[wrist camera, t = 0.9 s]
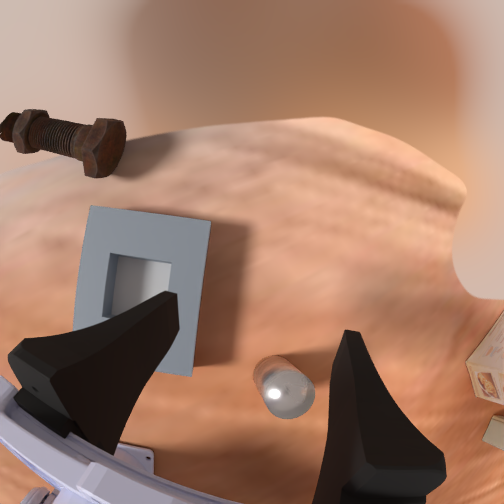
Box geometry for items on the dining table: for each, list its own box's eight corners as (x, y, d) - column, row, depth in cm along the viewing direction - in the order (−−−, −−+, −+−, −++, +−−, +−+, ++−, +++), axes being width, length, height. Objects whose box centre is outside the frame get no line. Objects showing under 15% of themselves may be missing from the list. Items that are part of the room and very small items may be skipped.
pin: (289, 394, 26) (310, 418, 20) (250, 392, 25) (262, 418, 19) (295, 356, 26) (318, 373, 20) (255, 353, 26) (269, 371, 20)
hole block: (193, 367, 25) (191, 376, 22) (84, 346, 24) (71, 353, 21) (210, 228, 26) (211, 221, 23) (102, 213, 25) (90, 205, 22)
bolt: (25, 134, 27) (126, 159, 27) (-3, 160, 23) (100, 192, 24) (17, 92, 22) (126, 107, 23) (-15, 116, 19) (94, 136, 20)
